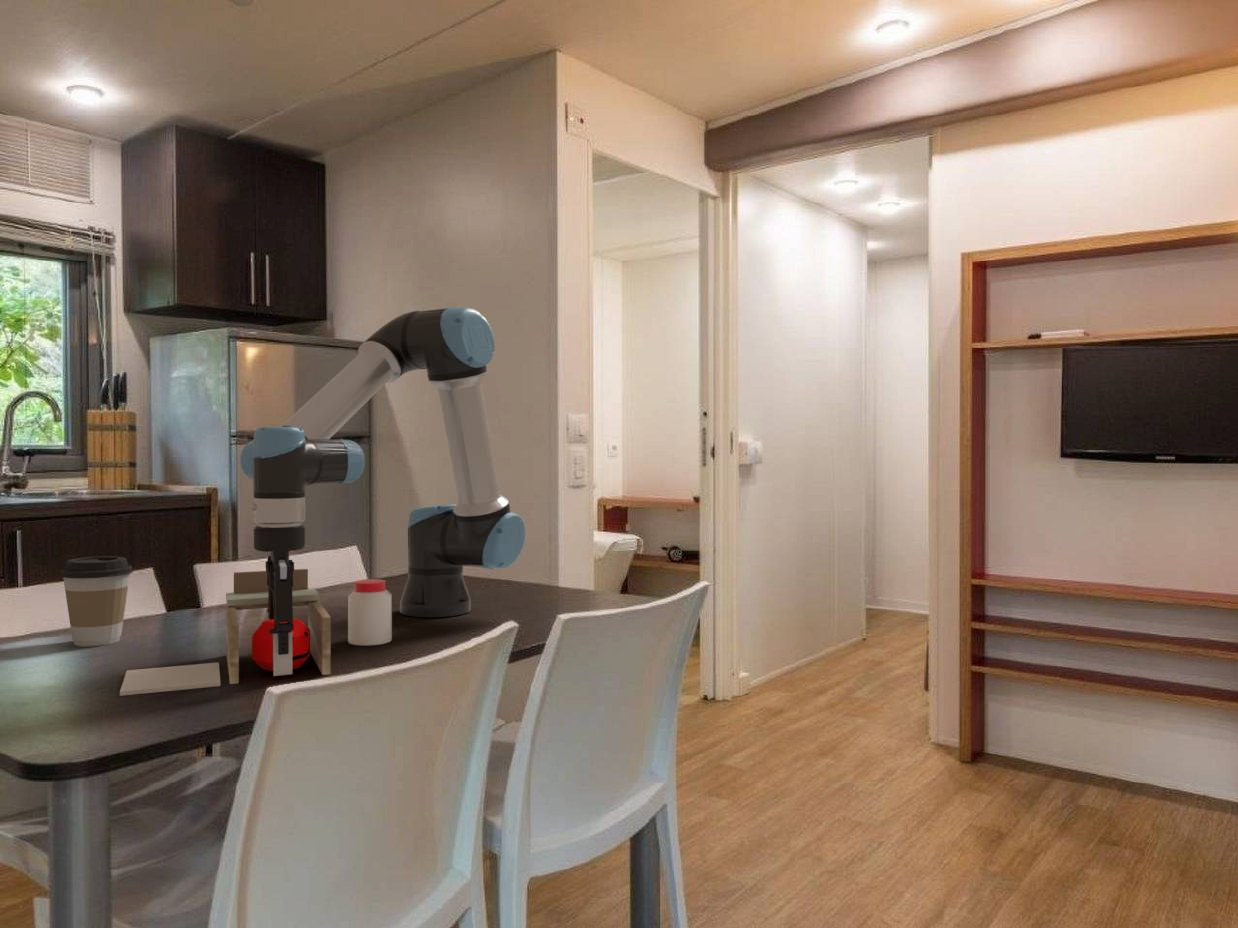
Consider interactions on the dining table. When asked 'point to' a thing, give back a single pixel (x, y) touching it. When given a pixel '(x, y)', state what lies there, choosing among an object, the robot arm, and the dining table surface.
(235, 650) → the wooden goalpost gate
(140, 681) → the mat
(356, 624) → the pill bottle
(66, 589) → the coffee cup
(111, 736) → the dining table surface
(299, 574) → the cover
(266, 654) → the ball
